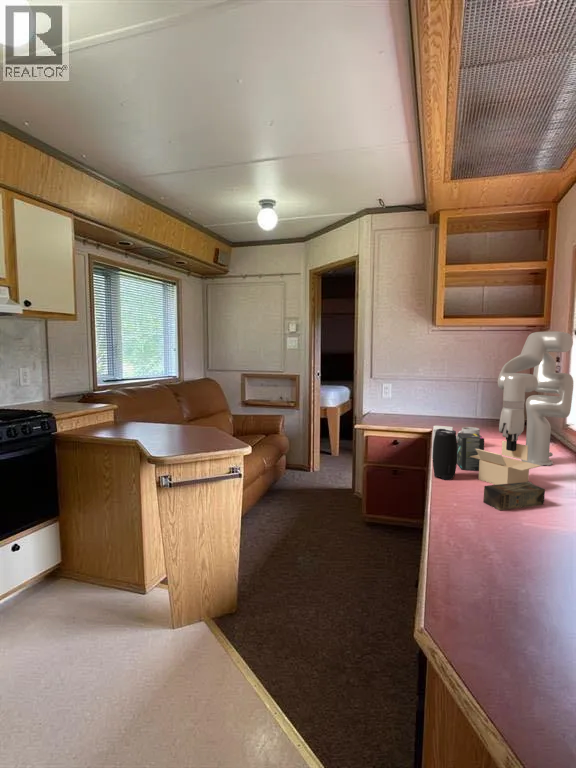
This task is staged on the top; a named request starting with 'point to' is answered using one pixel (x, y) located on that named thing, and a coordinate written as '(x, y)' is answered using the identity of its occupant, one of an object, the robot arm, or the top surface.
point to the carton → (504, 471)
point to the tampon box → (468, 450)
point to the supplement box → (435, 431)
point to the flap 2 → (519, 453)
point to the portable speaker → (445, 454)
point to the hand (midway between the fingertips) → (511, 450)
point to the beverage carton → (513, 495)
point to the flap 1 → (491, 457)
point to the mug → (469, 430)
